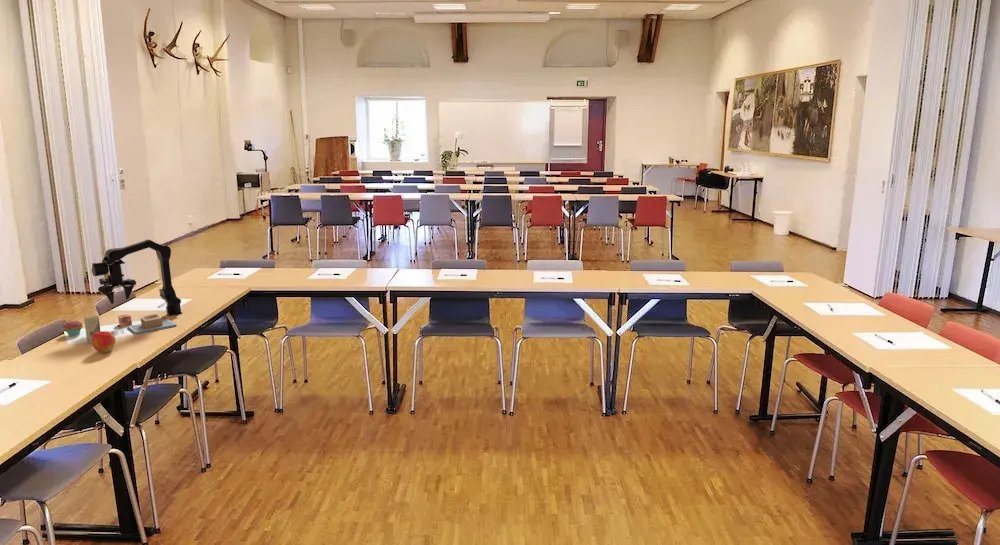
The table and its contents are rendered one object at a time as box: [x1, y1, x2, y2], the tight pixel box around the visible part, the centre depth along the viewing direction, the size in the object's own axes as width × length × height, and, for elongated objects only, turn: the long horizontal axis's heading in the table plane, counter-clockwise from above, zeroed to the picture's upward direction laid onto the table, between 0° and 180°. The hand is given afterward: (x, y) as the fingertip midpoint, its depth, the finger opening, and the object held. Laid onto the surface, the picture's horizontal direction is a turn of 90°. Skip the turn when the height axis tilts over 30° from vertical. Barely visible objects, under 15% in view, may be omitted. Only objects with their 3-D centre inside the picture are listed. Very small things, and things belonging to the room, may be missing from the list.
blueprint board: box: [127, 313, 178, 335], centre depth 349 cm, size 20×14×6 cm
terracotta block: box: [117, 313, 133, 327], centre depth 354 cm, size 5×5×5 cm
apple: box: [92, 330, 116, 354], centre depth 311 cm, size 10×10×10 cm
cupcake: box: [62, 313, 84, 337], centre depth 336 cm, size 9×8×12 cm
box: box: [83, 315, 102, 344], centre depth 325 cm, size 5×4×13 cm
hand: (119, 301), depth 352 cm, fingers open, 9 cm apart
